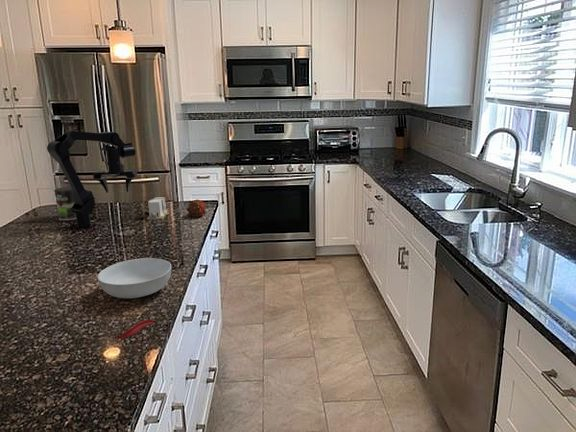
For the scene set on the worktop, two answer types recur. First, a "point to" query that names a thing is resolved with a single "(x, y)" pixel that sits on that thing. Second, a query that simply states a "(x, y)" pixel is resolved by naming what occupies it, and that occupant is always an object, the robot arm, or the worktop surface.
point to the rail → (155, 215)
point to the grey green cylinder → (65, 203)
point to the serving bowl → (135, 277)
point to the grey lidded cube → (155, 207)
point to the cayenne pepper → (136, 328)
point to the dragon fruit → (197, 208)
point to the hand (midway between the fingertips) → (117, 192)
